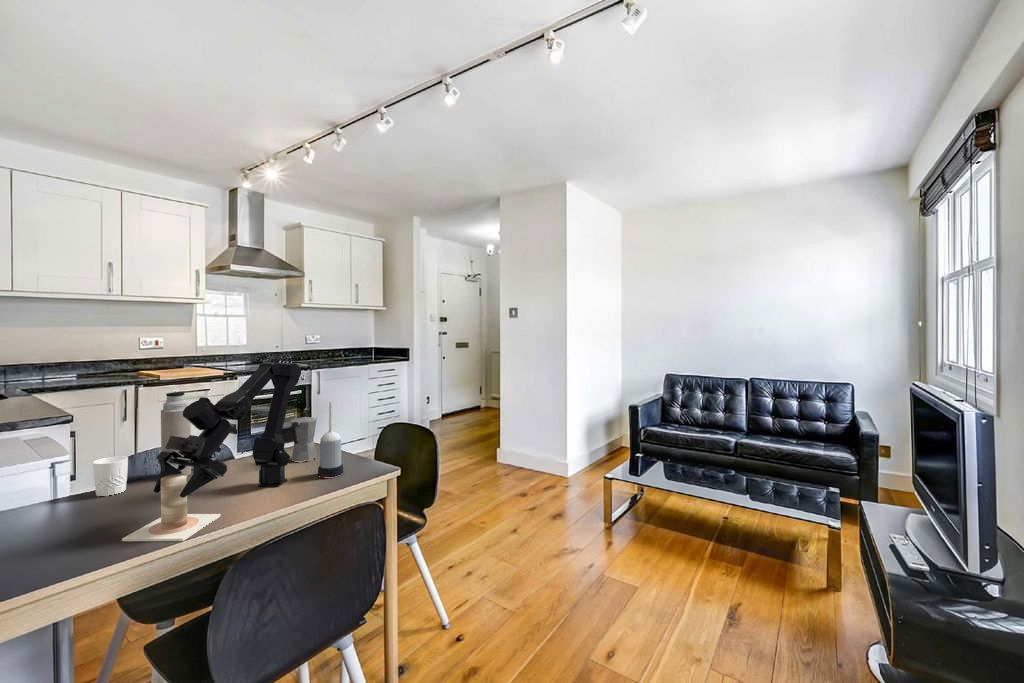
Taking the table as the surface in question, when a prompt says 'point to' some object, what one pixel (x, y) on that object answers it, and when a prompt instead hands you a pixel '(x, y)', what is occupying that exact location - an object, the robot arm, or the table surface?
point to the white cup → (110, 475)
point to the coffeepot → (303, 438)
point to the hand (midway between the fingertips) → (168, 494)
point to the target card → (179, 534)
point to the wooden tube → (173, 502)
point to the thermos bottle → (174, 422)
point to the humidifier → (330, 452)
